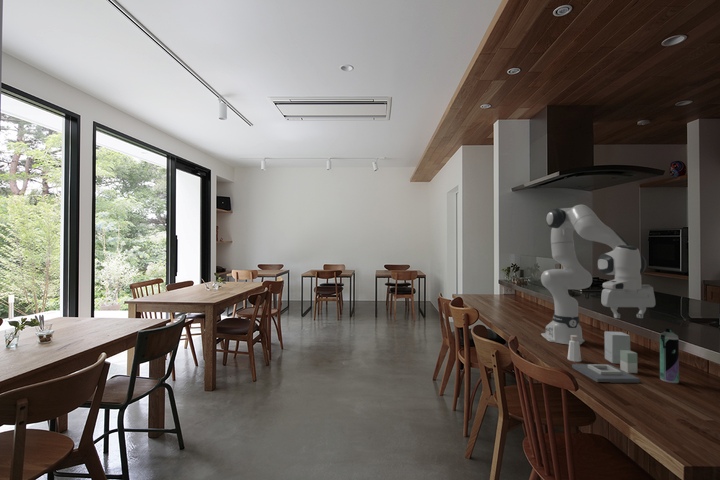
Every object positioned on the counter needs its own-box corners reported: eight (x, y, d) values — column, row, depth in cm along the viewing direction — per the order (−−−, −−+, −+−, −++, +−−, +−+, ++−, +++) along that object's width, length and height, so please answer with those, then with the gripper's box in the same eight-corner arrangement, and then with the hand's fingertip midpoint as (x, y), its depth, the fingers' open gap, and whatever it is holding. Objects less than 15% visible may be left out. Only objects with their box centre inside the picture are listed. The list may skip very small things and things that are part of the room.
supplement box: (631, 364, 153) (631, 335, 154) (612, 363, 155) (611, 334, 155) (622, 359, 161) (622, 331, 161) (604, 358, 162) (603, 330, 162)
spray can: (674, 384, 132) (674, 330, 132) (657, 379, 137) (656, 327, 137) (681, 381, 135) (681, 329, 135) (664, 376, 140) (663, 326, 140)
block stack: (620, 369, 148) (620, 350, 148) (629, 369, 148) (629, 350, 148) (627, 373, 144) (627, 353, 144) (637, 373, 144) (637, 353, 144)
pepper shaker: (581, 362, 156) (581, 337, 156) (567, 360, 159) (567, 336, 159) (581, 359, 161) (581, 335, 161) (567, 357, 164) (567, 333, 164)
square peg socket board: (572, 367, 150) (572, 361, 150) (609, 367, 150) (609, 361, 150) (597, 382, 134) (597, 375, 134) (639, 382, 134) (639, 375, 134)
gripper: (646, 283, 150) (647, 316, 149) (598, 283, 150) (599, 316, 149) (659, 285, 143) (660, 319, 143) (608, 285, 143) (609, 319, 143)
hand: (628, 317), depth 146 cm, fingers open, 8 cm apart
